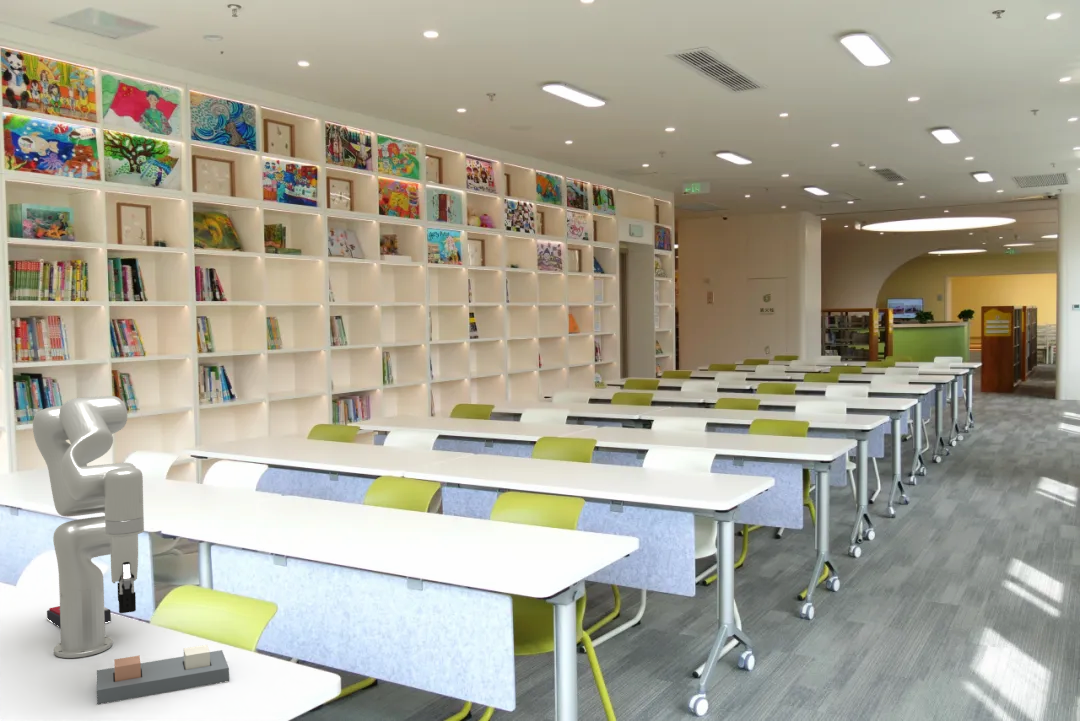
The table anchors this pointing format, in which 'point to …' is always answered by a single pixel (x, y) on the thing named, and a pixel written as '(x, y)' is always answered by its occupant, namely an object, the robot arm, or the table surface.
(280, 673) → the table surface
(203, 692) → the table surface
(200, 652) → the cream key
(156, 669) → the key panel
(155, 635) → the table surface
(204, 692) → the table surface
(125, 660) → the terracotta key
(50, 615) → the calculator
